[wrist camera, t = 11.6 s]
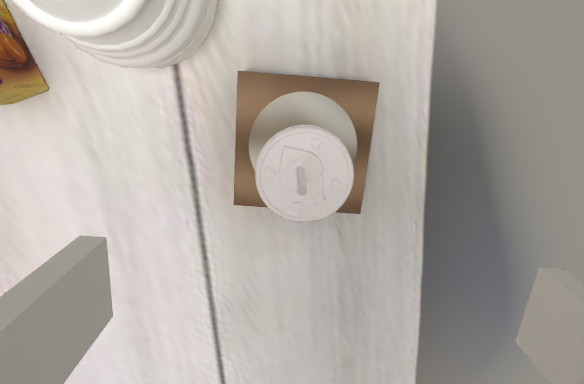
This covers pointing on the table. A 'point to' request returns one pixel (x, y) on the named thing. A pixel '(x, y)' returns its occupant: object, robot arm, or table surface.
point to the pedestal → (301, 123)
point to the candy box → (16, 64)
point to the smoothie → (304, 173)
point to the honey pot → (128, 27)
